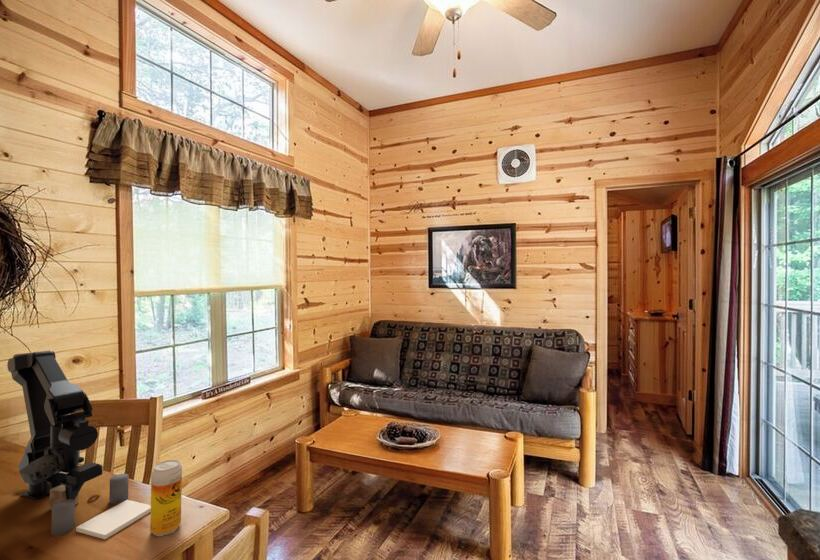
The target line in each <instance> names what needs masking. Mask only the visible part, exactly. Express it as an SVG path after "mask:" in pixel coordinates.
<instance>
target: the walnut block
mask: <svg viewBox="0 0 820 560" xmlns="http://www.w3.org/2000/svg"><path fill="white" fill-rule="evenodd" d="M79 495H80V492H79V493H78V495H77V496H76V498H75V506H76V505H78V504H79ZM62 500H66V490H65V486H64V485H62V484H61V485H59V486H56V487H54V488H52V489H50V494H49V510H50V511H52V506H53V505H54V504H55V503H57V502H59V501H62Z"/></svg>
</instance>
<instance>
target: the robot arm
mask: <svg viewBox="0 0 820 560" xmlns="http://www.w3.org/2000/svg"><path fill="white" fill-rule="evenodd" d="M7 370H8V372H9V373H10V375H11V378H12V380H13V381H14V382H16V383H17V384H18V385H20V386H21V388H22V393H23V399H24V403H25V409H26V410H25V411H26V415H27V421H28V427H29V432H30V439H29V440H28V442H27V444H26V446H25V448H24V454H23V456H22V458H21V460H20V462H19V463H18V472H19V475H20V477H21V478H22V480H23V482H24V483H25V484H27V490H26V491H23V492H21V493H20V496H21V497H26V498H29V499H34V500H39V499H41V498H43V497H45V496H47V495H50V489H52V488H54V487H56V486H59V485H61V484H62V485H64V486H65V490H66V500H67V499H74V500H75V498H76V496H77V495H78V496H79V494H80V490H82V488H83V486H84V484H85V483H86V482H88V481H90V480H93V479H95V478H97V477H100V476H102V475H103V474H104V471H103V470H104V466H103V465H102V464H100V463H96V462H91V461H88V462H87V463H84V461H85V457H83V456H81V451H84V450H87V449H89V448H90V447H91V446H93V445H94V444H95V443H96V441H97V440H98V437H99V432H98V430H97V428H96V427H95V426H92V425H91V424H89V420H88V418H91V417H93V412H92V411H93V407H92V404H91V401H90V399H89V397H88V395H87V393H86V392H84V390H83V389H82V388H81V386H79V385H78V384H75V383H74V382H70V381H69V380H68V378H67V376H66V375H65V373H64V372H63V370H62V368H61V366H60V364H59V363H58V360H56V353H55V351H54V350H43V351H42V350H41V351H34V352H26V353H25V352H24V353H18V354H17V353H16V354H14V355H13V356H12V357H11V358H8V360H7ZM86 418H87V419H86ZM80 463H84V464H81V465H79V464H80ZM78 493H79V494H78Z"/></svg>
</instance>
